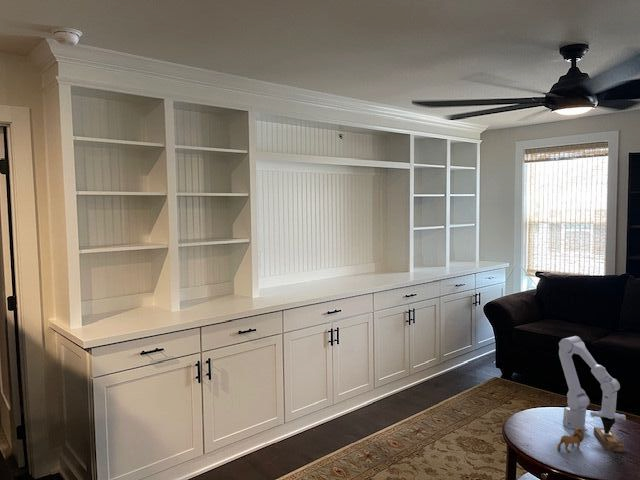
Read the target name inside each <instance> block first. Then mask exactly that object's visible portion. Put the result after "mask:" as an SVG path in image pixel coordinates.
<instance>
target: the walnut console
mask: <svg viewBox="0 0 640 480" xmlns="http://www.w3.org/2000/svg"><path fill="white" fill-rule="evenodd" d="M600 430H604V427H597V426H594V427H593V434H594V436H595V437H596V439H597V440H598V441H599V443H600V444H601V446H602V447H603V449H604V451H614V452H621V453H623V452H624V448H625V445H624V444H623V442H622V441H621V440H620V439H619V437H618V436H617V435H616V433H615V432H614V431H613V429H612V428H611V429H610V432H611V433H612V435H605V434H602V433H601V431H600ZM605 437H611V438H615V439H616V440H617V441H618V443H616V442H608V441H607V440H606V438H605Z"/></svg>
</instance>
